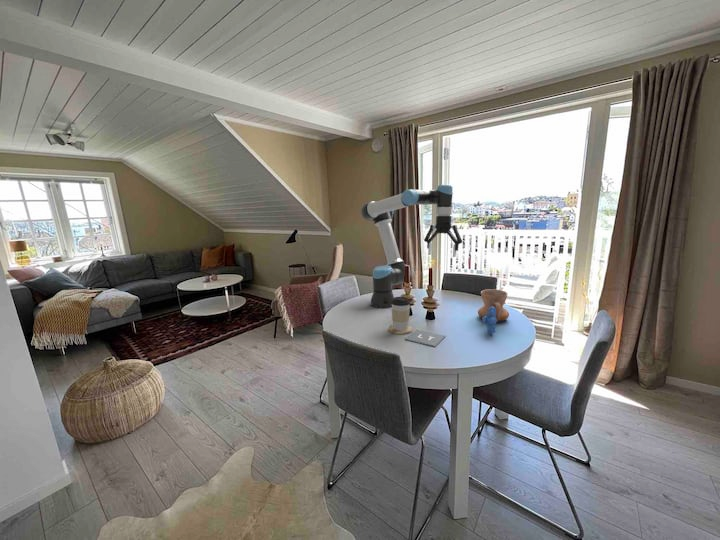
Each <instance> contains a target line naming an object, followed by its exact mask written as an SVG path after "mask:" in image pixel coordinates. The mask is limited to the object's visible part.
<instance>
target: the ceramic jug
mask: <svg viewBox="0 0 720 540" xmlns="http://www.w3.org/2000/svg"><path fill="white" fill-rule="evenodd" d="M480 295H481V299H482V302H483V304H484V305H482V306H481V307H480V308H478V310H477V314H478V316H479V317H480V318H481V319H482V318H483V317H484V316H487V314H488V313H489V311H488V309H489V308H490V307H491V306H493V307H494V308H495V309H496V315H495V316H496V317H495V318H496V319H497V320H498V321H497V322H503V321H506V320H507V319H508V318H509V317H510V312H509V311H508V310H507V309H506V308H505V307H503V306H504V305H505V303H506V300H507V298H508V292H507V291H504V290H502V289H491V288H490V289H484V290H482V291H480Z"/></svg>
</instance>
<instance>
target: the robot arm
mask: <svg viewBox="0 0 720 540" xmlns="http://www.w3.org/2000/svg"><path fill="white" fill-rule="evenodd" d="M453 194H454V193H453V185H452V184H439V185H437V189H412V188H411V189H410V188H409V189H405V190H404V191H403V192H402V193H399V194H396V195H392V196H390V197H386V198H383V199H381V200H378V201H370V202H366V203H364V204H362V206H361V209H360V216H361V217H362V219H364V220H365V221H368V222H373V223H374V226H375V227H377V229H378V232H379V237H380V240H381V243H382V247H383V250H384V254H385V258H386V261H387V262H386V264H385V265H378V266H375V267H374V268H373V270H372V289H373V290H372V295H371V300H370V305H371V304H372V305H374V306H377V307H388V308H390V307H389V306H392V304H391V300H393V299H394V298H395V296H394V292H393V286H397V285H400V284H404V283H405V282H404V276H405V266H408V265H407V264H405V260H403V259H402V258H401V256H400V252H399V248H398V245H397V241H396V237H395V234H394V230H393V226H392V221H393V218H394V213H395V211H396V210H400V209H403V208H404V209H405V208H407V207H411V206H416V205H425V206H426V205H436V217H435V218H436V219H435V222H436V224H430V225H429V229H428V232H427V233H426V235H425V237H424V239H423V240H424V242H426V244H427V245H426V248H427V250H428V253H427V254H428V256H432V255H433V242H432V241H433V240H434V239H435V238H436V237H437V235H439V234H443V235H444V234H447V235H448V236H449V238H450V239H451V240H452V242H453V243H454V244H453V248H452V258H456V257H457V251H459V245H460V244H463V240H462V237H461V235H460V233H459V230H458V225H457V224H454V225H452V216H451V215H452V211H453V207H452V206H453ZM435 229H436V230H435ZM451 229H452V231H453V233H454V234H453V233H452V231H451ZM434 230H435V231H434ZM432 233H433V234H432ZM410 278H411V269H410V267H409V279H410ZM372 305H371V306H372ZM377 307H376V308H377Z"/></svg>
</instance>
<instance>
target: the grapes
mask: <svg viewBox="0 0 720 540" xmlns="http://www.w3.org/2000/svg"><path fill="white" fill-rule="evenodd" d="M488 311H489V313H488V314H487V316H484V317H483V318H481V321H482V322H483V323H484V324H486V326H487V332H488V333H489V335H494V334H495V333H496V329H497V326H496V324H497V323H498V322H499V321H498V320H497V319H496V318H495V317H496V316H495V315H496V309H495V308H494V307H493V306H491V307H490V308H489V309H488Z"/></svg>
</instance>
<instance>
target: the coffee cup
mask: <svg viewBox="0 0 720 540" xmlns="http://www.w3.org/2000/svg"><path fill="white" fill-rule="evenodd" d="M391 304H392V307H391V318H392V325H393V328H394V329H395V330H399V331H404V330H407V329H408V325H409V320H410V310H411V308H410V305H411V301H410V300H409V298H408V297H406V296H394V299H393V300H391Z"/></svg>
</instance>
